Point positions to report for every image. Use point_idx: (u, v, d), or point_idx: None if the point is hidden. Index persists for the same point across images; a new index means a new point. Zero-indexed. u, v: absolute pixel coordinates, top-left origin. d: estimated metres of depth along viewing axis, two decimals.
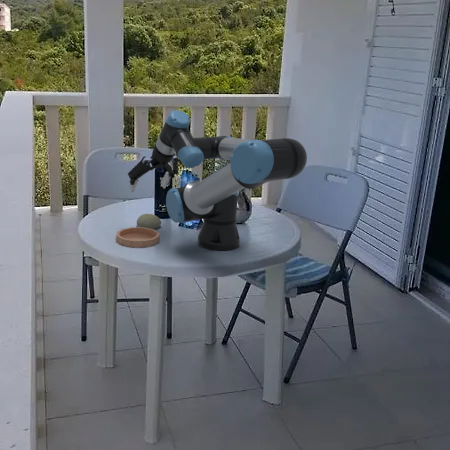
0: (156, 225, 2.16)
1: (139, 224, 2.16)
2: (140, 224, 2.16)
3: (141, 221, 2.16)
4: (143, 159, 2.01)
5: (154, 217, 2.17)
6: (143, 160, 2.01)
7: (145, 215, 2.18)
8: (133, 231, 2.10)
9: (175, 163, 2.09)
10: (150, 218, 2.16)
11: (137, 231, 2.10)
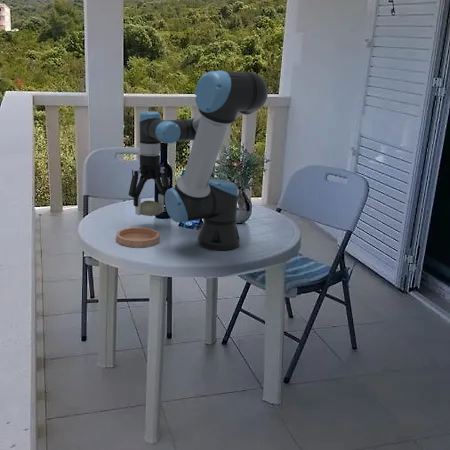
0: (157, 211, 2.14)
1: None
2: (141, 210, 2.14)
3: (142, 207, 2.14)
4: (133, 172, 2.09)
5: (155, 203, 2.15)
6: (133, 173, 2.09)
7: (146, 202, 2.16)
8: (133, 231, 2.10)
9: (165, 174, 2.16)
10: (151, 204, 2.14)
11: (137, 231, 2.10)
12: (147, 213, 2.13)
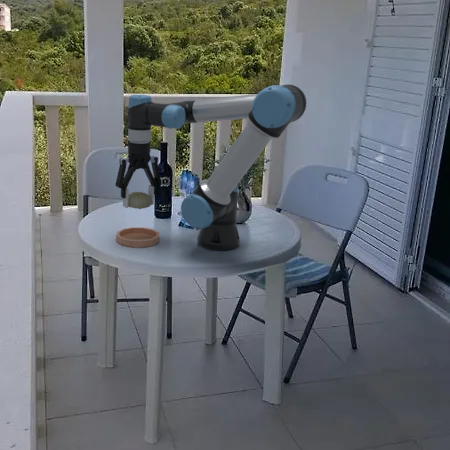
0: (147, 204, 1.97)
1: (128, 203, 1.97)
2: None
3: (130, 199, 1.97)
4: (120, 161, 1.92)
5: (144, 195, 1.98)
6: (121, 161, 1.92)
7: (135, 193, 1.99)
8: (133, 231, 2.10)
9: (155, 164, 1.99)
10: (140, 196, 1.97)
11: (137, 231, 2.10)
12: (135, 206, 1.96)
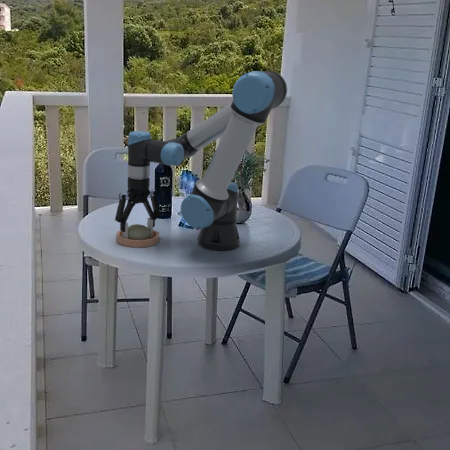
0: (146, 237, 2.01)
1: None
2: (128, 235, 2.00)
3: (129, 232, 2.00)
4: (120, 196, 1.96)
5: (144, 228, 2.02)
6: (120, 196, 1.95)
7: (134, 226, 2.02)
8: None
9: (154, 198, 2.02)
10: (139, 229, 2.00)
11: None
12: (135, 239, 2.00)
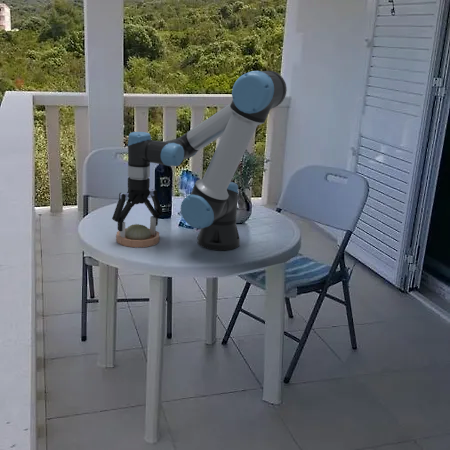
0: (146, 237, 2.01)
1: (127, 236, 2.00)
2: (128, 235, 2.00)
3: (129, 232, 2.00)
4: (120, 195, 1.95)
5: (144, 228, 2.02)
6: (120, 196, 1.95)
7: (134, 226, 2.02)
8: None
9: (155, 197, 2.02)
10: (139, 229, 2.00)
11: None
12: (135, 239, 2.00)
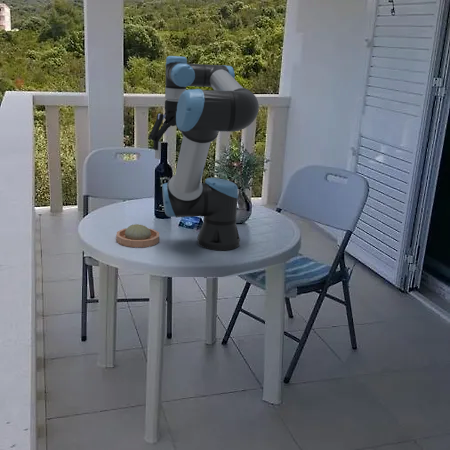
0: (146, 237, 2.01)
1: (127, 236, 2.00)
2: (128, 235, 2.00)
3: (129, 232, 2.00)
4: (158, 115, 2.07)
5: (144, 228, 2.02)
6: (158, 116, 2.07)
7: (134, 226, 2.02)
8: None
9: None
10: (139, 229, 2.00)
11: None
12: (135, 239, 2.00)
